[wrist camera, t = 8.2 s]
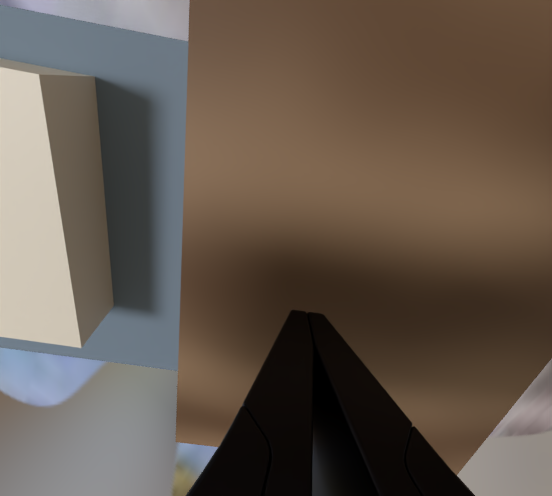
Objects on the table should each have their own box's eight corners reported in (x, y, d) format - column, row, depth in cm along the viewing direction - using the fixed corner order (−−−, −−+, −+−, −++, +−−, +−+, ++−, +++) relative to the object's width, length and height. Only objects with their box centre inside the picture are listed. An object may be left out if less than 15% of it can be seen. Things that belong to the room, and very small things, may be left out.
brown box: (420, 393, 17) (456, 475, 13) (198, 363, 16) (175, 441, 13) (619, 50, 10) (816, 30, 6) (229, -33, 9) (193, -110, 5)
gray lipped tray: (198, 363, 16) (188, 398, 14) (-44, 331, 16) (-86, 363, 14) (222, 50, 10) (209, 42, 8) (-192, -32, 9) (-307, -59, 7)
